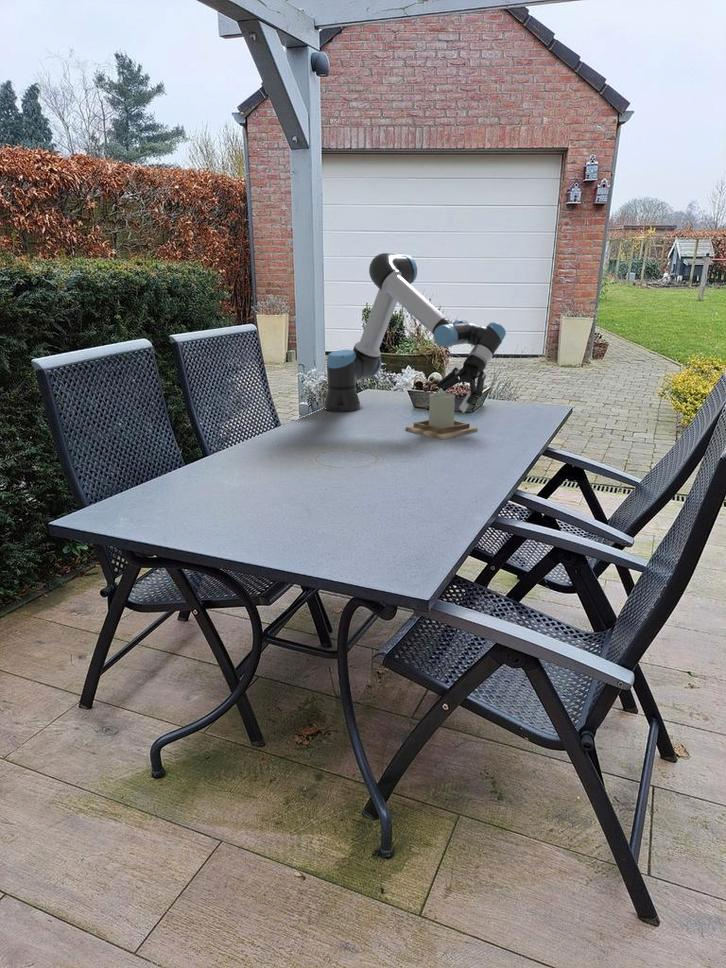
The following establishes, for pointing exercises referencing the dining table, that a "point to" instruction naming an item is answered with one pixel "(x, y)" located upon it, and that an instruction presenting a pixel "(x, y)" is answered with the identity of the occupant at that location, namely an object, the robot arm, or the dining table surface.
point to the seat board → (440, 433)
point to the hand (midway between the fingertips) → (447, 407)
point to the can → (441, 410)
